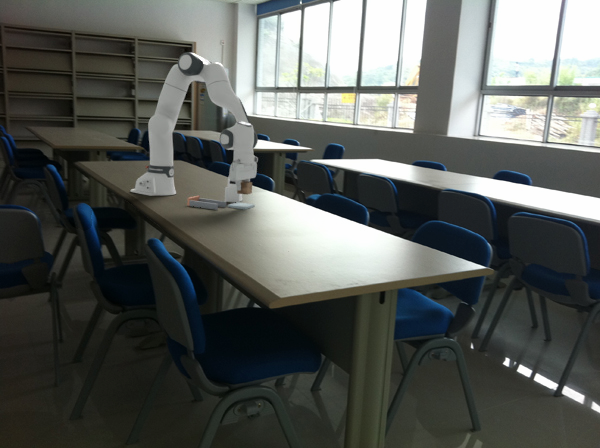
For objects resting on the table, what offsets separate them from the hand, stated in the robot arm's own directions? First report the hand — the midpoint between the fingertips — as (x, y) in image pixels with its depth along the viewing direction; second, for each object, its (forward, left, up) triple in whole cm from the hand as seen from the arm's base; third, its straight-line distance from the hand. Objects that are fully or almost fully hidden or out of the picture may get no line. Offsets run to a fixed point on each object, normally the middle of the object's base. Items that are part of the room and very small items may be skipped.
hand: (242, 189), depth 236 cm
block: (+1, 0, -2) cm, 2 cm away
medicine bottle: (-10, +11, -8) cm, 17 cm away
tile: (0, 0, -8) cm, 8 cm away
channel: (-12, -9, -8) cm, 17 cm away
